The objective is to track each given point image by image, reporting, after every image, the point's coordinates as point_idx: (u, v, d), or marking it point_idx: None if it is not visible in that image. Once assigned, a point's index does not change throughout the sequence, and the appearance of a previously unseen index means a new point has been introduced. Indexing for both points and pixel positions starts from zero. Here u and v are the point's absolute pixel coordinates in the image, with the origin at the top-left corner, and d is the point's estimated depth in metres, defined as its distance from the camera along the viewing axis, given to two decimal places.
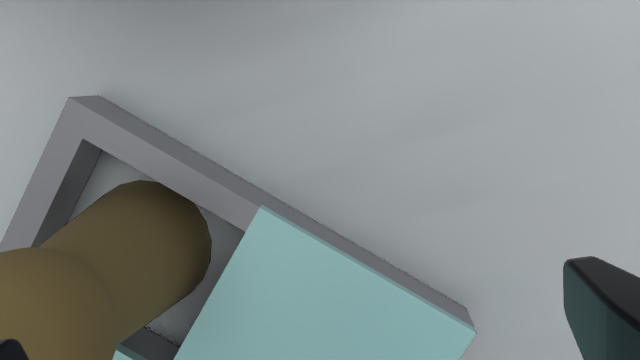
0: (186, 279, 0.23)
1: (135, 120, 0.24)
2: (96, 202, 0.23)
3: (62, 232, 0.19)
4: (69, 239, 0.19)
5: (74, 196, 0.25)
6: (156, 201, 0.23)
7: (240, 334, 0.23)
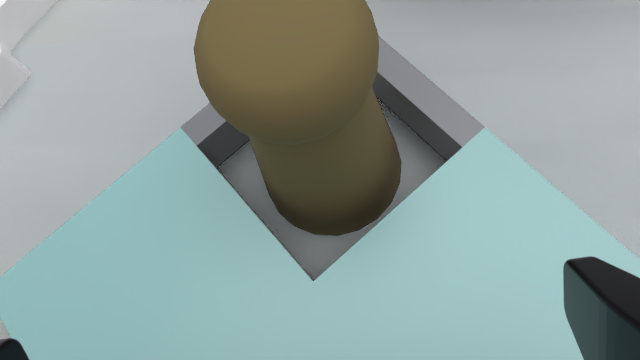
0: (380, 182, 0.21)
1: None
2: None
3: None
4: None
5: None
6: None
7: (421, 255, 0.20)
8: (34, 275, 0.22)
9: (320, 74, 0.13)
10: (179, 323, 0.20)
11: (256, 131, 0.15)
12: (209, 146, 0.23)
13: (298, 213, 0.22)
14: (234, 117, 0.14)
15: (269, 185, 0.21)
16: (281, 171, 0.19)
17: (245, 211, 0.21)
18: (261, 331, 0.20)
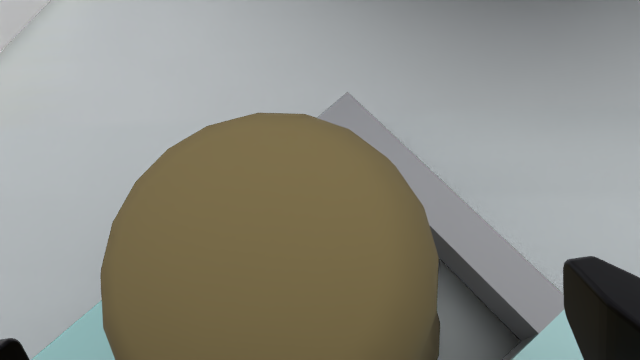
0: None
1: None
2: None
3: None
4: None
5: None
6: None
7: None
8: None
9: None
10: None
11: None
12: None
13: None
14: None
15: None
16: None
17: None
18: None
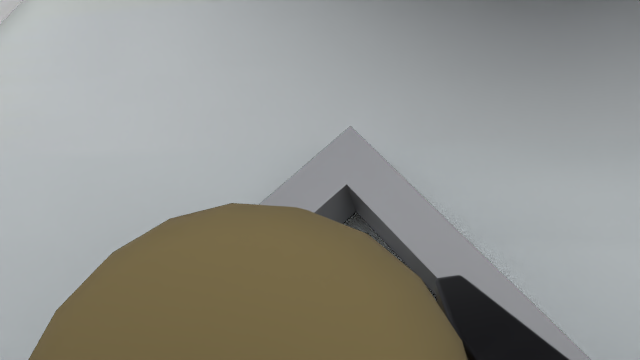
0: None
1: None
2: None
3: None
4: None
5: None
6: None
7: None
8: None
9: None
10: None
11: None
12: None
13: None
14: None
15: None
16: None
17: None
18: None
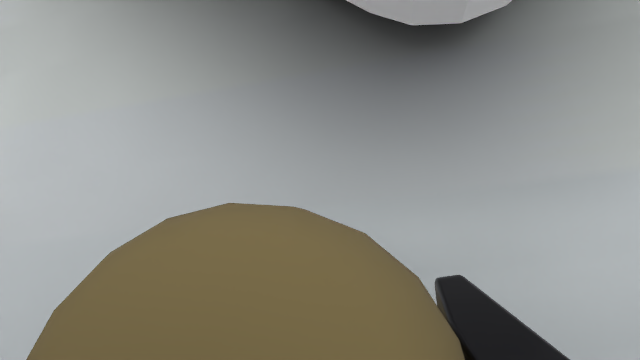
0: None
1: None
2: None
3: None
4: None
5: None
6: None
7: None
8: None
9: None
10: None
11: None
12: None
13: None
14: None
15: None
16: None
17: None
18: None
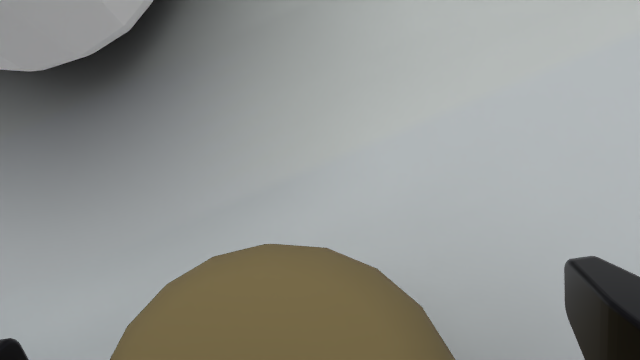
0: None
1: None
2: None
3: None
4: None
5: None
6: None
7: None
8: None
9: None
10: None
11: None
12: None
13: None
14: None
15: None
16: None
17: None
18: None
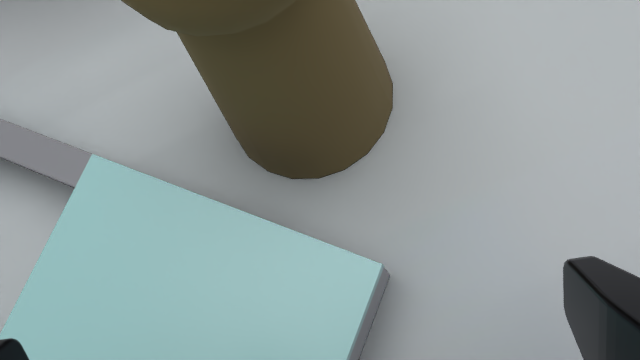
0: (364, 103, 0.17)
1: None
2: None
3: None
4: None
5: None
6: None
7: (62, 329, 0.16)
8: None
9: None
10: None
11: (166, 11, 0.10)
12: None
13: (267, 151, 0.17)
14: None
15: (226, 118, 0.17)
16: (230, 90, 0.14)
17: None
18: None
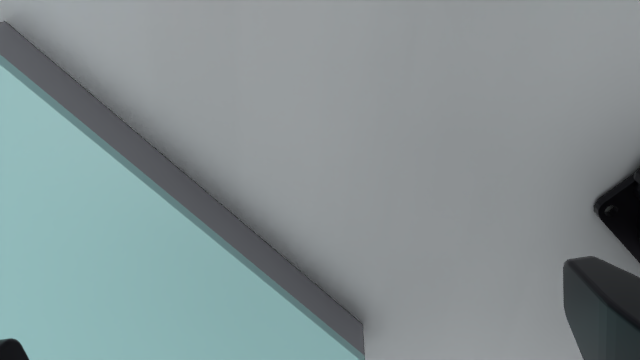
0: None
1: None
2: None
3: None
4: None
5: None
6: None
7: None
8: None
9: None
10: None
11: None
12: None
13: None
14: None
15: None
16: None
17: None
18: None
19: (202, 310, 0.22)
